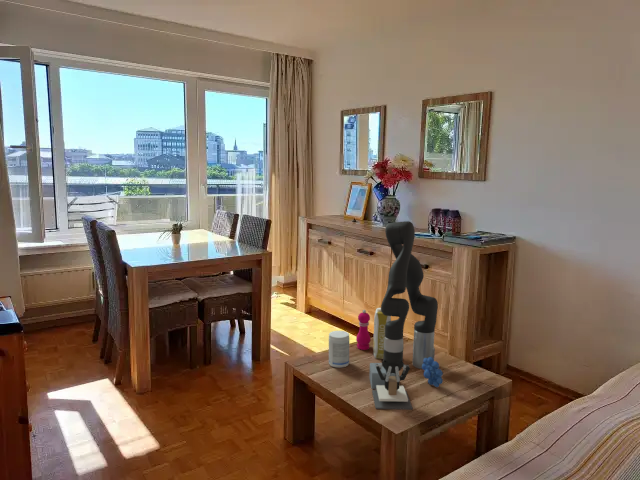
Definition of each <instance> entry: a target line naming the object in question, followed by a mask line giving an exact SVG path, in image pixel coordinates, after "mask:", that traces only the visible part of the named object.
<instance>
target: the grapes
mask: <svg viewBox="0 0 640 480" xmlns="http://www.w3.org/2000/svg"><path fill="white" fill-rule="evenodd" d="M423 362H424V363H423V364H422V369H421V370H423V377H424V378H425V379H427V384H429V385H431V386H434V387H435V388H439V386H440V385H442V384H443V381H444V379H443V378H442V377H443V371H442V369H440V363H439V362H438V361H436V360H435V358H434V359H433V358H432V357H429V358H424V360H423Z"/></svg>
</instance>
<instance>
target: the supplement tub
mask: <svg viewBox="0 0 640 480" xmlns="http://www.w3.org/2000/svg"><path fill="white" fill-rule="evenodd" d="M328 364H329V365H330V366H331V367H333V368H340V369H341V368H345V367H347V366H349V364H350V334H349V332H347V331H345V330H334V331H330V332H329V334H328Z"/></svg>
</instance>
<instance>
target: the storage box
mask: <svg viewBox="0 0 640 480" xmlns="http://www.w3.org/2000/svg"><path fill="white" fill-rule="evenodd" d="M381 363H382V362H369V383H370V388H371V389H372V390H377V389H376V385H385V381H384V380H381V378H380V376H379V374H378V371H377V369H376V364H378V365H379V364H381ZM381 372H382V374H383V376H385V372H386V370H385V369H384V367H382V370H381ZM390 376H395V377H396V375H395V373H390Z"/></svg>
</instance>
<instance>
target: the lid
mask: <svg viewBox="0 0 640 480" xmlns="http://www.w3.org/2000/svg"><path fill="white" fill-rule="evenodd" d="M388 381H389V388H388V390H387V389H385V385H376V389H375V390H377V393H378V398H379V401H402V402H408V398H407V395H406V392H405V387H404V385H399V389H398V390H397V380H396V377H395V376H390V377H389V380H388Z"/></svg>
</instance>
